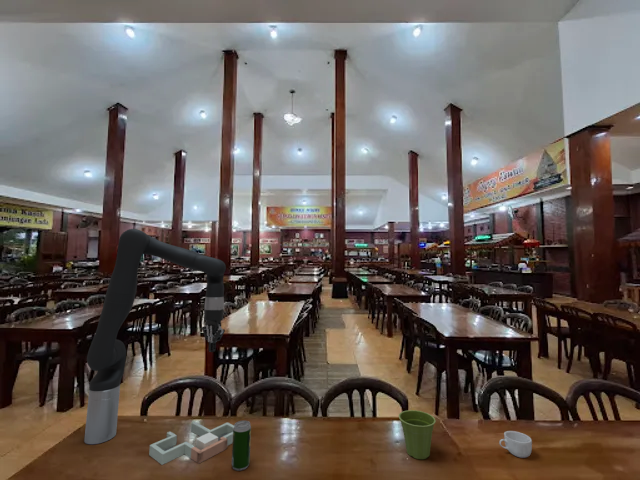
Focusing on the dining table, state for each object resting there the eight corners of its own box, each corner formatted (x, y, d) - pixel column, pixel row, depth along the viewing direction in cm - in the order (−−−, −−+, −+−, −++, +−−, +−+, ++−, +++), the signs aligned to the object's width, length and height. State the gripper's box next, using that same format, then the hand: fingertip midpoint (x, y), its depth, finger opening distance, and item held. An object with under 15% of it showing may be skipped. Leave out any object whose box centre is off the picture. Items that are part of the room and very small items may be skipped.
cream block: (195, 453, 99) (196, 438, 100) (208, 446, 103) (209, 432, 104) (204, 458, 96) (204, 443, 97) (217, 451, 100) (218, 437, 101)
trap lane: (144, 451, 100) (145, 441, 100) (210, 422, 120) (211, 414, 120) (176, 475, 88) (176, 464, 88) (244, 439, 108) (244, 430, 108)
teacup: (523, 447, 105) (522, 431, 106) (538, 461, 97) (537, 443, 98) (493, 446, 105) (492, 430, 106) (506, 460, 97) (506, 442, 98)
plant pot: (421, 441, 108) (420, 407, 109) (444, 460, 97) (443, 423, 98) (392, 446, 104) (391, 412, 106) (413, 467, 93) (412, 428, 94)
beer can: (234, 473, 89) (236, 430, 91) (229, 464, 94) (231, 422, 95) (252, 467, 92) (253, 425, 94) (246, 458, 97) (247, 418, 98)
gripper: (196, 307, 126) (194, 350, 124) (215, 310, 118) (213, 356, 116) (212, 306, 132) (210, 347, 130) (231, 308, 124) (229, 352, 122)
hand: (212, 351), depth 123 cm, fingers closed
